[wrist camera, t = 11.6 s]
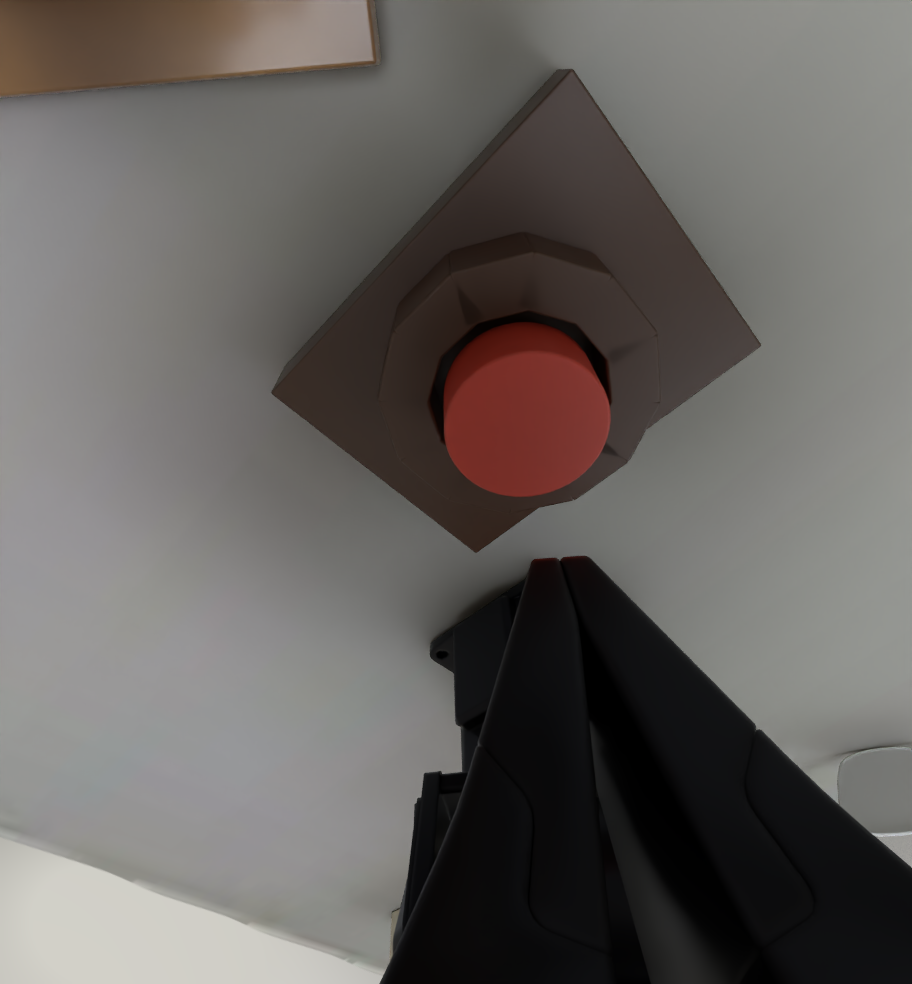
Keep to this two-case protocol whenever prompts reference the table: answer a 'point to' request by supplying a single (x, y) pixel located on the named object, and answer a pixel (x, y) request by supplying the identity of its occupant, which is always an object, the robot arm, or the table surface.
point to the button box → (520, 309)
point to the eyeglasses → (878, 789)
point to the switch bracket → (176, 41)
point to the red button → (524, 410)
